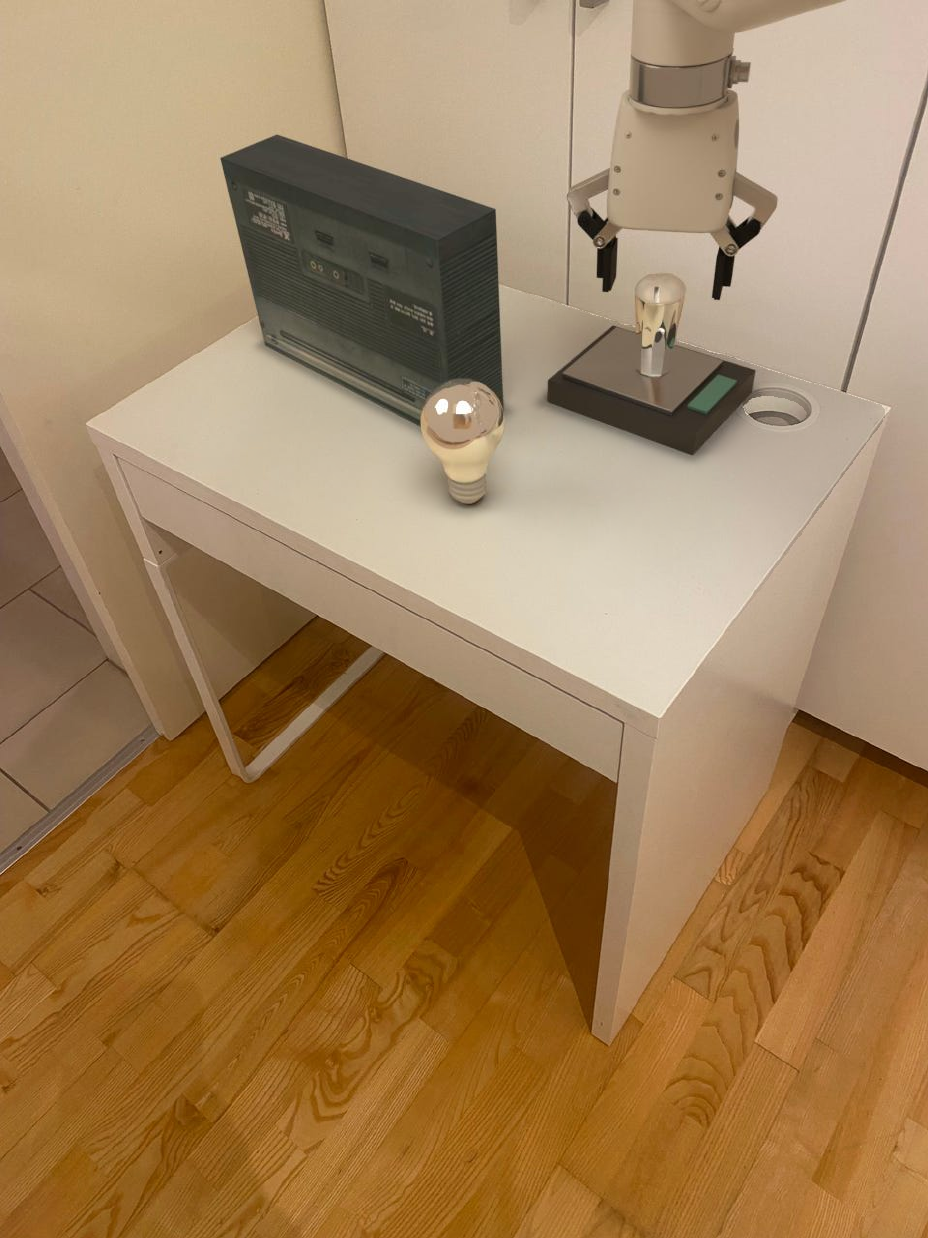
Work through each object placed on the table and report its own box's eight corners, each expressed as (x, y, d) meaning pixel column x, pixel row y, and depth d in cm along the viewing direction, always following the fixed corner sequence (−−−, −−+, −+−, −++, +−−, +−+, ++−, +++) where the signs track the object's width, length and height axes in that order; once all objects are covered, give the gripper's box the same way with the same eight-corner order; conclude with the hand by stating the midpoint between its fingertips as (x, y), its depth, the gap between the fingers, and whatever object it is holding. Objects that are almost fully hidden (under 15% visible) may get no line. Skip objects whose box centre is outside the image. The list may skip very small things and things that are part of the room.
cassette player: (503, 410, 94) (495, 208, 80) (454, 444, 91) (437, 240, 76) (313, 318, 109) (276, 134, 94) (265, 344, 106) (220, 157, 91)
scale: (752, 392, 94) (757, 364, 91) (692, 455, 87) (696, 427, 85) (611, 346, 101) (613, 319, 99) (547, 401, 95) (547, 374, 92)
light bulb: (457, 537, 82) (446, 420, 73) (415, 496, 86) (400, 380, 77) (523, 504, 84) (520, 387, 75) (479, 466, 88) (471, 351, 80)
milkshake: (623, 382, 91) (630, 284, 83) (633, 352, 94) (641, 255, 87) (672, 388, 90) (683, 288, 82) (680, 357, 93) (691, 259, 86)
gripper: (799, 63, 74) (765, 275, 86) (578, 61, 78) (576, 263, 90) (793, 97, 69) (758, 317, 81) (557, 93, 73) (558, 302, 85)
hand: (662, 288), depth 85 cm, fingers open, 9 cm apart
